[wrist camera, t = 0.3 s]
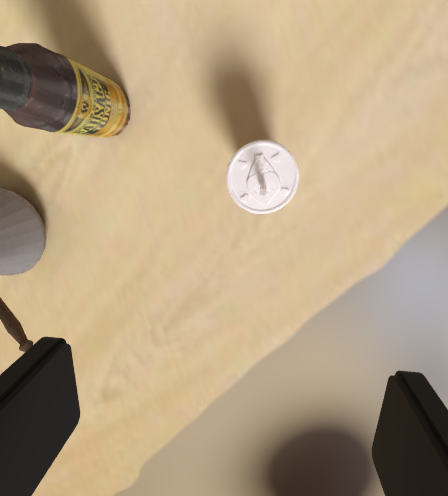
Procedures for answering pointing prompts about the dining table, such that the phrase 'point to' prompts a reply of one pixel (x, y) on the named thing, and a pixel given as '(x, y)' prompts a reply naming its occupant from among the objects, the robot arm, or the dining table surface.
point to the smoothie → (262, 176)
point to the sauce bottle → (59, 93)
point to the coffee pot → (18, 250)
